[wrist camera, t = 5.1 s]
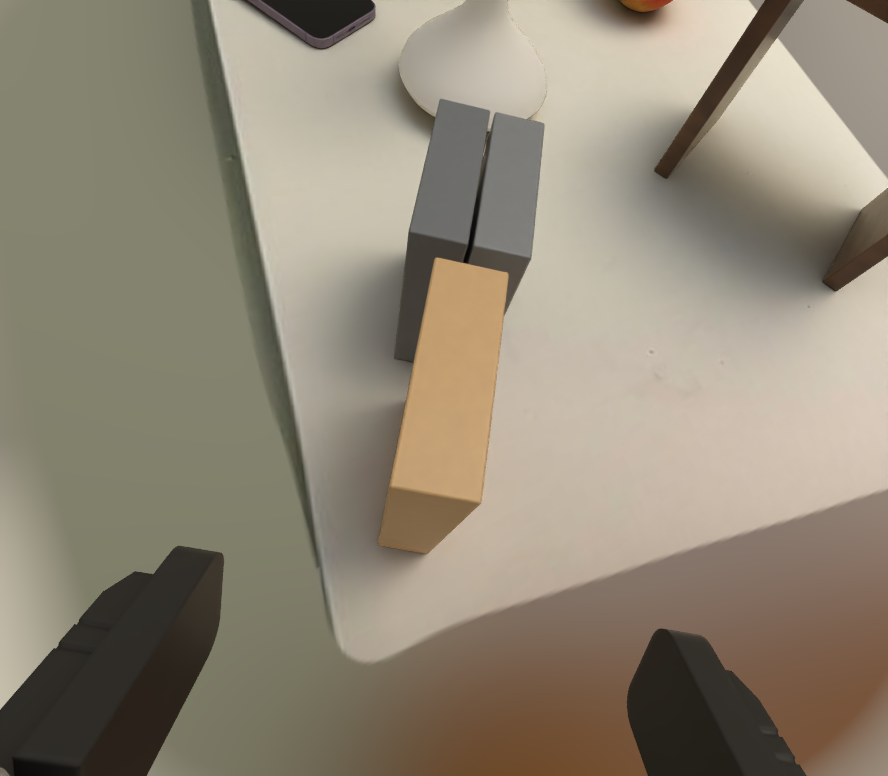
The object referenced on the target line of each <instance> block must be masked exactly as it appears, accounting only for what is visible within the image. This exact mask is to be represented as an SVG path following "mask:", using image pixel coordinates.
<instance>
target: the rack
mask: <svg viewBox="0 0 888 776" xmlns="http://www.w3.org/2000/svg"><path fill="white" fill-rule="evenodd" d="M803 1H804V0H765V1H764V3H763V4H762V6H761V7H760V9H759V10H758V12H757V13H756V15H755V16H754V18H753V20H752V21H751V23H750V24H749V26H748V27H747V29H746V30H745V32H744V33H743V35H742V36H741V38H740V39H739V41H738V42H737V44H736V46H735V47H734V49H733V50H732V52H731V53H730V55H729V56H728V58H727V59H726V61H725V62H724V64H723V65H722V67H721V69H720V70H719V72H718V73H717V75H716V76H715V78H714V79H713V81H712V82H711V84H710V85H709V87H708V88H707V90H706V91H705V93H704V95H703V96H702V98H701V99H700V101H699V102H698V104H697V105H696V107H695V108H694V110H693V111H692V113H691V114H690V116H689V117H688V119H687V121H686V122H685V124H684V125H683V127H682V128H681V130H680V131H679V133H678V134H677V136H676V137H675V139H674V140H673V142H672V144H671V145H670V147H669V148H668V150H667V151H666V153H665V154H664V156H663V157H662V159H661V160H660V162H659V163H658V165H657V166H656V168H655V170H654V171H655V172H657V173H658V174H660V175H661V176H663V177H665V178H666V179H667V178H668V177H669V176H670V175H671V173H672V172H673V171H674V170H675V169H676V168H677V167H678V165H679V164H680V163H681V162H682V161H683V160H684V158H685V157H686V156H687V155H688V154H689V153H690V152H691V150H692V149H693V148H694V147H695V146H696V145H697V143H698V142H699V141H700V140H701V139H702V138H703V137H704V135H705V134H706V133H707V132H708V131H709V130H710V128H711V127H712V126H713V125H714V124H715V123H716V122H717V120H718V119H719V118H720V117H721V115H722V114H723V112H724V111H725V110H726V108H727V107H728V105H729V104H730V103H731V101H732V100H733V98H734V97H735V96H736V94H737V93H738V91H739V90H740V89H741V87H742V86H743V84H744V83H745V82H746V80H747V79H748V77H749V76H750V75H751V73H752V72H753V70H754V69H755V68H756V66H757V65H758V63H759V62H760V61H761V59H762V58H763V57H764V55H765V54H766V52H767V51H768V50H769V48H770V47H771V45H772V44H773V43H774V41H775V40H776V38H777V37H778V36H779V34H780V33H781V31H782V30H783V28H784V27H785V26H786V24H787V23H788V21H789V20H790V19H791V17H792V16H793V15H794V13H795V12H796V10H797V9H798V8H799V6H800V5H801V3H802V2H803ZM847 1H849V2H851V3H852V4H854V5H856V6H858V7H859V8H861V9H863V10H865V11H867V12H868V13H870V14H872V15H874V16H875V17H877V18H879V19H881V20H883V21H884V22H886V23H888V0H847ZM887 256H888V188H887V189H886V190H885V191H884V192H882V193H881V194H880V195H879V196H877V197H876V198H875V199H874V200H873V201H871V202H870V203H869V204H868V205H866V206H865V207H864V208H863V209H862V211H861V212H860V214H859V216H858V218H857V220H856V222H855V223H854V225H853V227H852V229H851V231H850V233H849V234H848V236H847V238H846V240H845V242H844V244H843V245H842V247H841V249H840V251H839V253H838V255H837V256H836V258H835V260H834V262H833V264H832V266H831V267H830V269H829V271H828V273H827V275H826V277H825V278H824V280H823V282H824V283H825V284H827V285H828V286H830V287H831V288H833V289H834V290H836V291H838V290H839V289H841V288H842V287H844V286H845V285H846V284H848V283H849V282H851V281H852V280H854V279H855V278H857V277H858V276H860V275H861V274H863V273H864V272H865V271H867V270H868V269H870V268H871V267H873V266H874V265H876V264H877V263H879V262H880V261H882V260H883V259H885V258H886V257H887Z"/></svg>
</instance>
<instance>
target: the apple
mask: <svg viewBox="0 0 888 776" xmlns="http://www.w3.org/2000/svg"><path fill="white" fill-rule="evenodd" d="M620 1H621V2H622V3H623V4H624V5H625V6H626V7H628V8H629V9H632V10H634V11H638V12H648V11H653V10H656V9H659V8H661V7H663V6H665V5H666V4H668V3H670V2H671V1H672V0H620Z"/></svg>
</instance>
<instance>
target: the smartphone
mask: <svg viewBox="0 0 888 776" xmlns="http://www.w3.org/2000/svg"><path fill="white" fill-rule="evenodd" d="M248 1H249V2H251V3H252V4H254V5H255V6H256V7H258V8H259V9H261V10H262V11H263V12H265V13H266V14H268V15H269V16H270V17H272V18H273V19H275V20H276V21H278V22H279V23H280V24H282V25H283V26H285V27H286V28H287V29H289V30H290V31H292V32H293V33H294V34H296V35H297V36H299V37H300V38H301V39H303V40H304V41H306V42H307V43H308V44H310V45H312V46H314V47H317V48H327V47H330V46H332V45H333V44H335V43H336V42H338V41H340V40H341V39H343V38H345V37H346V36H348V35H349V34H351V33H353V32H354V31H356V30H357V29H359V28H361V27H362V26H364V25H365V24H367V23H369V22H370V21H372V20H373V19H374V17H375V4H374V2H373V1H372V0H248Z"/></svg>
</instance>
